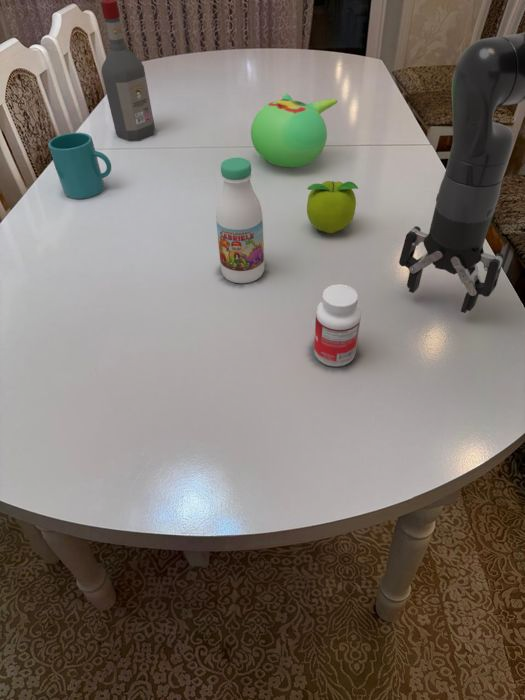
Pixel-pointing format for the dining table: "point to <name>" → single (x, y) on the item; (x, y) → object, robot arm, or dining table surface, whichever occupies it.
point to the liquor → (125, 82)
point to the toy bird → (290, 131)
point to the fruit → (331, 205)
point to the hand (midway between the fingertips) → (438, 299)
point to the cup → (78, 165)
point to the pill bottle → (337, 325)
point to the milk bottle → (239, 224)
